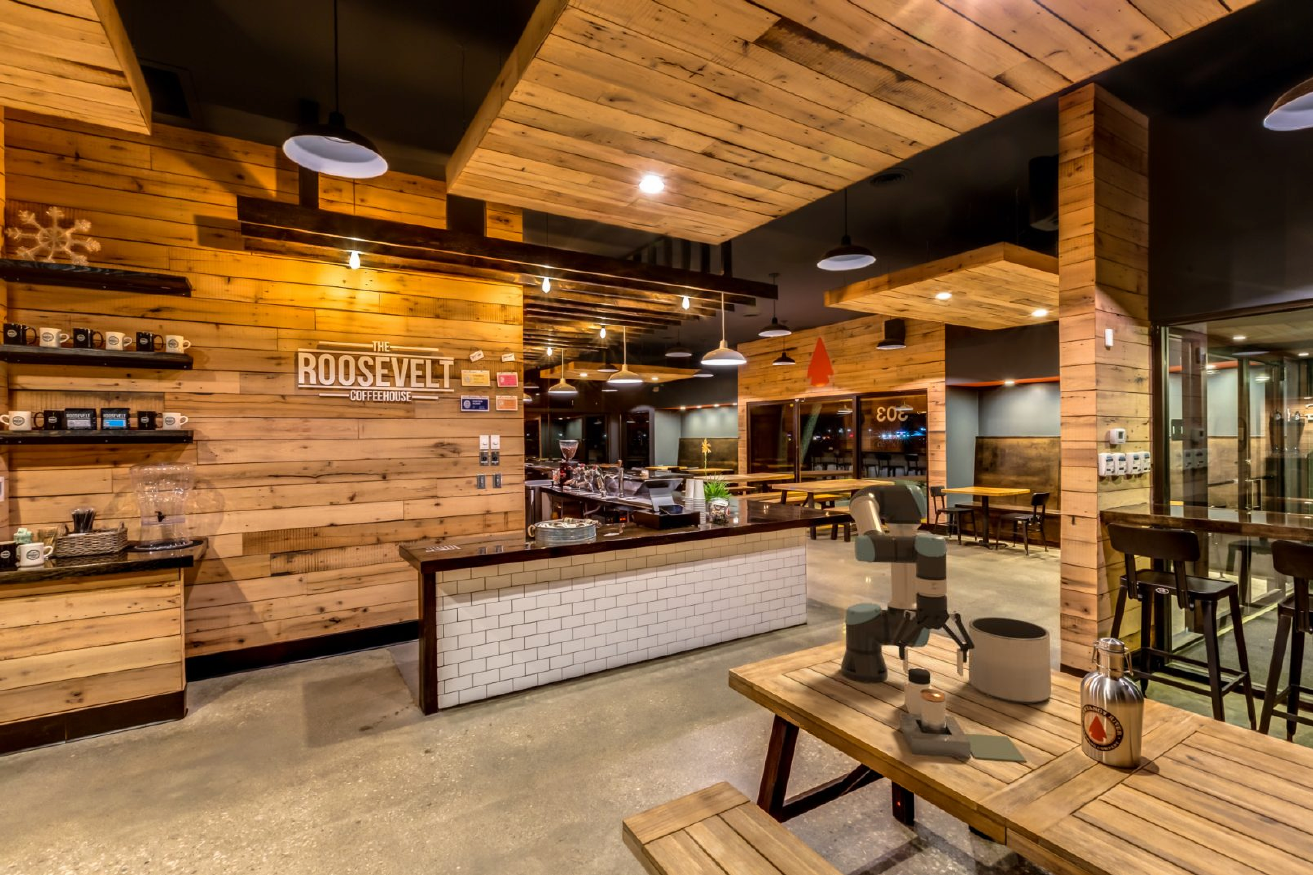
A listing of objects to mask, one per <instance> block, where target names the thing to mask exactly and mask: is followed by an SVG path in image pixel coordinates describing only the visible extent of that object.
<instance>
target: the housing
mask: <svg viewBox="0 0 1313 875" xmlns="http://www.w3.org/2000/svg"><path fill="white" fill-rule="evenodd" d="M899 728H900V730H901V732H902V734H903V737H904V739H905V741H906V743H907V745H908V748H909V749H910V752H911V754H912V755H923V756H925V755H926V756H937V757H947V758H948V757H951V758H961V759H962V758H965V759H971V757H972V756H971V754H972V753H971V752H970V741H969V740H968V738H967V737H966V735H965V734H966V733H965V732H964V731H963V729H962V728H961V726H960V724H959V723H958V721H957V720H956V718H955V717H954V716H951V715H950V716H948V715H946V735H943V734H928V733H922V732H921V715H920V714H910V713H905V712H904V713H903V712H902V713H901V712H900V713H899Z"/></svg>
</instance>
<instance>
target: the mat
mask: <svg viewBox="0 0 1313 875" xmlns="http://www.w3.org/2000/svg"><path fill="white" fill-rule="evenodd" d="M964 734H965V735H966V737H967V738H968V740H969V741H970V752H971V754H972V756H973V758H974V759H976V760H988V761H989V760H990V761H993V760H994V761H1002V762H1003V761H1004V762H1019V763H1028V760H1027V759H1026V758H1025V757H1024V756H1023V754H1022V753H1021V751H1020V750H1019V749H1018V747H1016V745H1015V744H1014V743H1013V741H1012V740H1011V739H1010V737H1008V736H1005V735H1004V736H1003V735H988V734H974V733H973V734H972V733H964Z"/></svg>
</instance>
